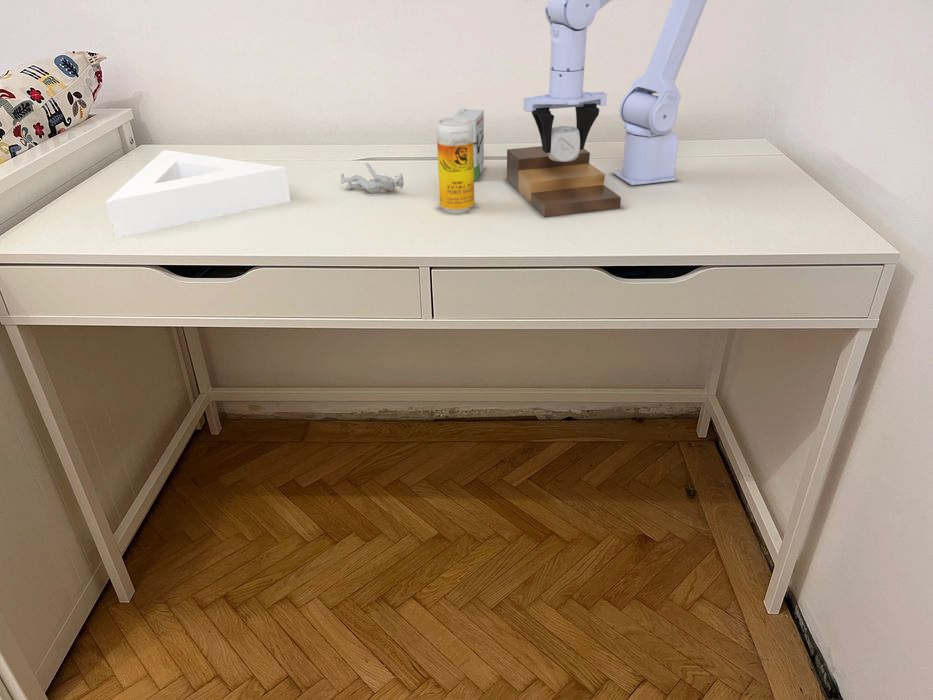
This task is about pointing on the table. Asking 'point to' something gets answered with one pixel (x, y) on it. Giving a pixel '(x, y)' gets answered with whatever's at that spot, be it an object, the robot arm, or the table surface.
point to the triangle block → (193, 191)
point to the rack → (559, 182)
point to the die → (564, 144)
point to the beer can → (455, 164)
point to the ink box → (476, 136)
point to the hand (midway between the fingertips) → (562, 149)
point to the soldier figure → (373, 182)
